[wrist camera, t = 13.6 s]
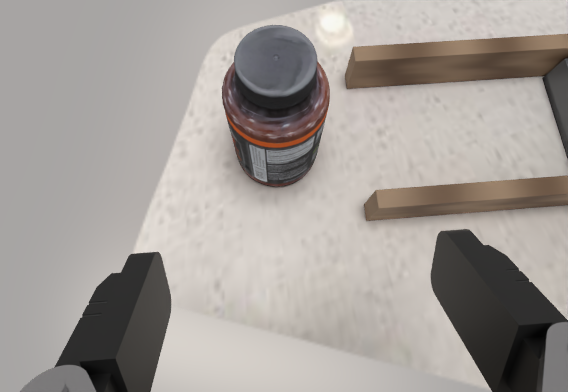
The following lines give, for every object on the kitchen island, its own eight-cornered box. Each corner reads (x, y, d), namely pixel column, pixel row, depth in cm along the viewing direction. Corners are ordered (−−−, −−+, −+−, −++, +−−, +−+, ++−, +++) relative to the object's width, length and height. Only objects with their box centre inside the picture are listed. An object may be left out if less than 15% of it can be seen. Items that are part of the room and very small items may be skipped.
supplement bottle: (234, 118, 30) (210, 7, 19) (311, 113, 30) (330, 1, 19) (239, 192, 28) (214, 117, 17) (320, 186, 28) (347, 107, 17)
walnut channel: (608, 58, 32) (647, 29, 28) (660, 197, 28) (712, 182, 25) (345, 75, 31) (353, 46, 28) (366, 220, 27) (378, 208, 24)
